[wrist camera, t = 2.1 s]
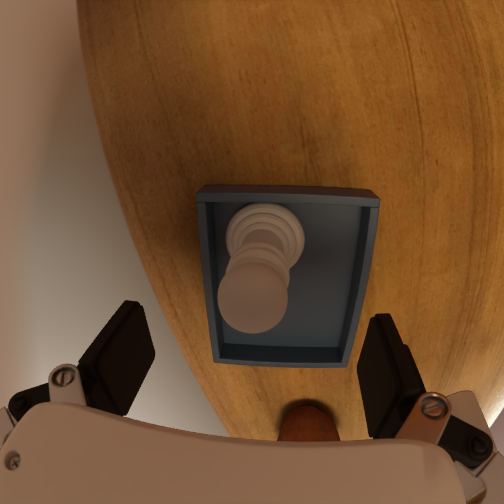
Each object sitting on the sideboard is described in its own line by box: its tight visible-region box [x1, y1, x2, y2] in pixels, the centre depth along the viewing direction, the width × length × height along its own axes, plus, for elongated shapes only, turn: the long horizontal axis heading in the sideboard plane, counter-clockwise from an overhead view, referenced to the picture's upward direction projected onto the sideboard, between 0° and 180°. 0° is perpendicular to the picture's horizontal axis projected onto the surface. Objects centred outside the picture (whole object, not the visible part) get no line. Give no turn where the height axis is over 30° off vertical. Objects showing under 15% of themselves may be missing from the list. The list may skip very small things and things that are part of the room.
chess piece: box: [218, 202, 305, 333], centre depth 16 cm, size 5×5×9 cm
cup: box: [446, 391, 498, 453], centre depth 23 cm, size 9×9×12 cm
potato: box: [277, 406, 340, 442], centre depth 26 cm, size 8×12×8 cm, turn 11°
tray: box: [196, 185, 380, 368], centre depth 21 cm, size 14×11×2 cm
